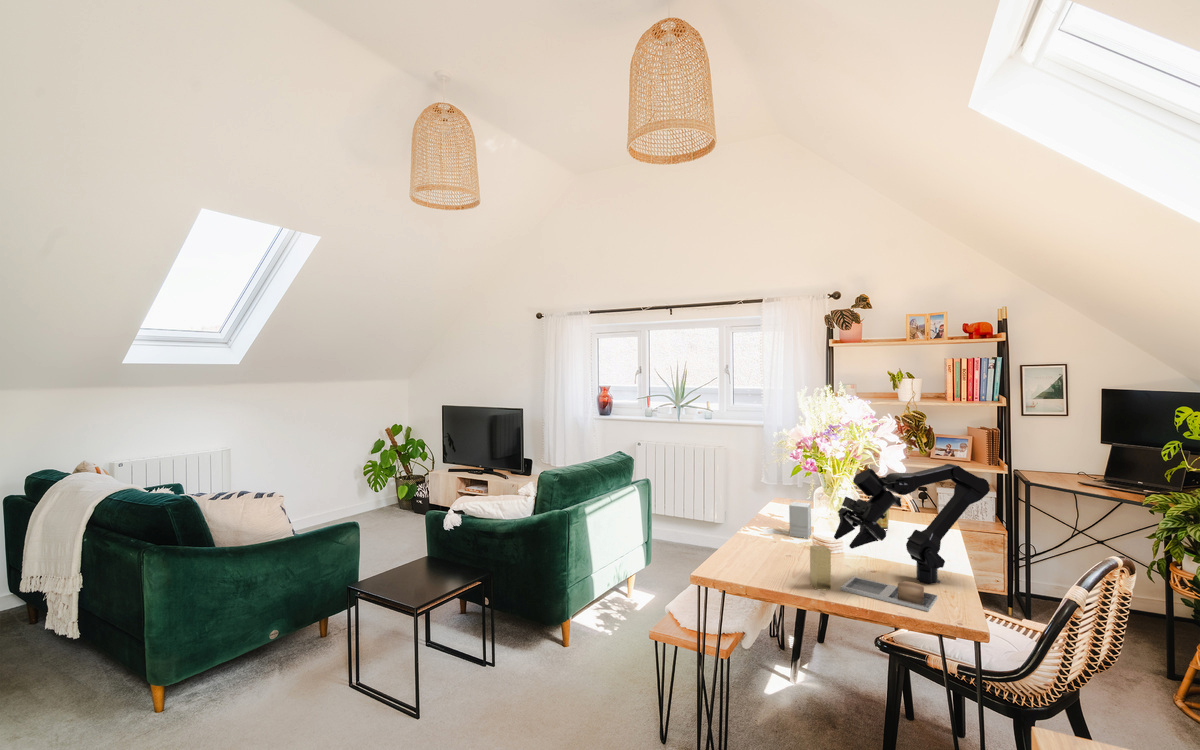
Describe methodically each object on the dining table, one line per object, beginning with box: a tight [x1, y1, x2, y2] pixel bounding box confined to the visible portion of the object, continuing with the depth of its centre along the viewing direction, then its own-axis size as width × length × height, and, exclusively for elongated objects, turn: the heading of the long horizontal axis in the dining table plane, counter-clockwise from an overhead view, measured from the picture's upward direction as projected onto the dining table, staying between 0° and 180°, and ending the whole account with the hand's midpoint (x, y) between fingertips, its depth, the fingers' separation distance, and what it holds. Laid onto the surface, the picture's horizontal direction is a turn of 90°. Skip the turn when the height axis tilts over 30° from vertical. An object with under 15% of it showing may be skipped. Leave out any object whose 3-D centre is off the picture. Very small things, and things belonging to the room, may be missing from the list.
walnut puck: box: [897, 581, 925, 604], centre depth 162 cm, size 7×7×4 cm
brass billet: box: [809, 545, 832, 591], centre depth 174 cm, size 4×4×12 cm
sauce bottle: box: [877, 487, 890, 529], centre depth 237 cm, size 7×6×20 cm
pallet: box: [840, 576, 938, 612], centre depth 165 cm, size 12×23×2 cm, turn 49°
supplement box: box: [788, 501, 812, 539], centre depth 229 cm, size 7×7×13 cm
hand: (842, 542), depth 174 cm, fingers open, 9 cm apart
